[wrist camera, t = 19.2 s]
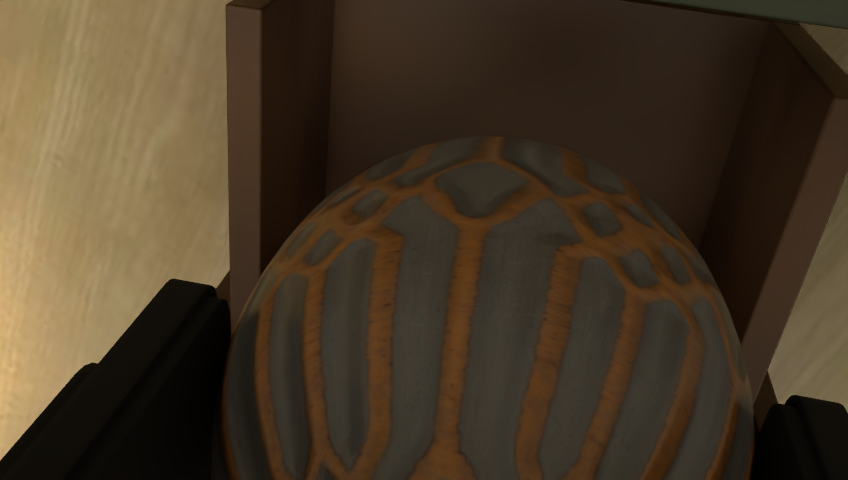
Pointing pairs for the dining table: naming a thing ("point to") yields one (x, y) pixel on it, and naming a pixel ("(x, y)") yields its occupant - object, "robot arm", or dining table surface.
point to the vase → (485, 332)
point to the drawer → (554, 117)
